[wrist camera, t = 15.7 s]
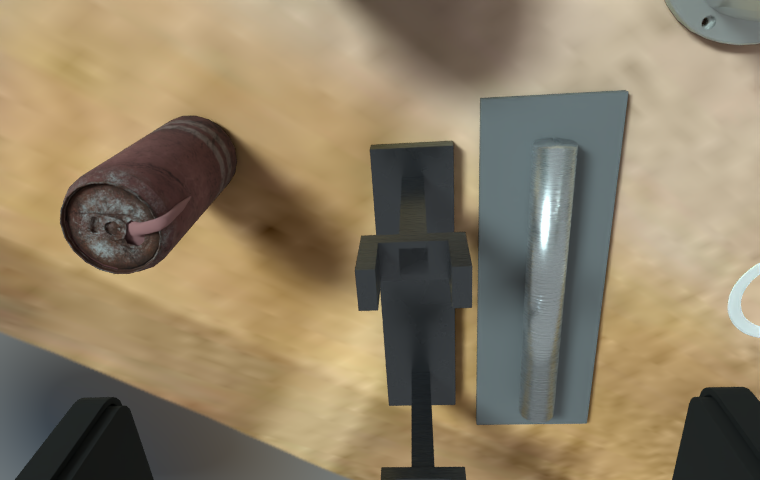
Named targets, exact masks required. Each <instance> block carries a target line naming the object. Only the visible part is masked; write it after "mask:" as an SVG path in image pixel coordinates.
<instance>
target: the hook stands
mask: <svg viewBox="0 0 760 480" xmlns="http://www.w3.org/2000/svg"><path fill="white" fill-rule="evenodd" d="M370 157H371V170H372V184H373V197H374V211H375V224H376V235H368V236H361V240H360V245H359V251H358V256H357V261H356V267H355V277H356V287H357V298H358V308H359V311H370V310H378V305H379V295H380V291H381V305H382V318H383V332H384V345H385V359H386V372H387V385H388V399H389V406H401V405H412V467H382V468H381V480H466V473H465V467H434V449H433V427H432V406H431V405H455V308H472V262H471V258H470V253H469V248H468V243H467V238H466V234H465V232H454V156H453V142H452V141H439V142H419V143H399V144H378V145H371V147H370Z"/></svg>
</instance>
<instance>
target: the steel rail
mask: <svg viewBox="0 0 760 480" xmlns="http://www.w3.org/2000/svg"><path fill="white" fill-rule="evenodd" d="M577 151H578V143H577V142H575V141H573V140H570V139H564V138H545V139H540V140H537V141H534V142H533V148H532V167H531V185H530V203H529V222H528V240H527V258H526V277H525V295H524V313H523V332H522V350H521V369H520V387H519V405H518V410H519V413H520V415H521V416H522V417H523V418H525V419H526V420H528V421H531V422H535V423H543V422H547V421H549V420H550V419H551V418H552V417H553V415H554V405H555V394H556V383H557V372H558V361H559V350H560V339H561V328H562V317H563V306H564V295H565V284H566V273H567V262H568V251H569V240H570V228H571V217H572V206H573V195H574V184H575V173H576V162H577Z"/></svg>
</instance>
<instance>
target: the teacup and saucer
mask: <svg viewBox="0 0 760 480" xmlns="http://www.w3.org/2000/svg"><path fill="white" fill-rule="evenodd" d="M758 275H760V263H758V264H757V265H755V266H753V267H752V268H751V269H749V270H748V271H747V272H746V273H745V274H743V275H742V276H741V278H740V279H739V280H738V281H737V282H736V284H735V285H734V287H733V289H732V291H731V293H730V296H729V299H728V314H729V317H730V319H731V321H732V323H733V324H734V325H735V327H736V328H738V329H739V330H740V331H742V332H743V333H745V334H747V335H750V336H753V337H758V338H760V326H757V325H755V324H753V323H751V322H749V321H748V320H747V319H746V318H745V316H744V315H743V313H742V310H741V298H742V295H743V293H744V291H745V289H746V287H747V286H748V285H749V284H750V282H751V281H752V280H753V279H755V278H756V277H757V276H758Z"/></svg>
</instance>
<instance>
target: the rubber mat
mask: <svg viewBox="0 0 760 480" xmlns="http://www.w3.org/2000/svg"><path fill="white" fill-rule="evenodd" d="M627 100H628V91H626V90H621V91H602V92H584V93H566V94H547V95H529V96H511V97H492V98H480V162H479V238H478V315H477V392H476V423H477V425H499V424H583V423H587V417H588V409H589V402H590V394H591V386H592V378H593V370H594V362H595V354H596V346H597V338H598V330H599V322H600V314H601V306H602V298H603V290H604V282H605V274H606V267H607V259H608V251H609V243H610V235H611V227H612V219H613V211H614V203H615V195H616V187H617V179H618V171H619V163H620V155H621V147H622V139H623V131H624V124H625V116H626V108H627ZM545 138H564V139H570V140H573V141H575V142H577V143H578V151H577V162H576V173H575V184H574V195H573V206H572V217H571V228H570V240H569V251H568V262H567V273H566V284H565V295H564V306H563V317H562V328H561V339H560V350H559V361H558V372H557V383H556V394H555V405H554V415H553V417H552V418H551V419H550V420H549V421H547V422H543V423H535V422H531V421H528V420H526V419H525V418H523V417H522V416H521V415H520V413H519V410H518V405H519V387H520V369H521V350H522V332H523V313H524V295H525V277H526V258H527V240H528V222H529V203H530V185H531V167H532V148H533V142H534V141H537V140H540V139H545Z"/></svg>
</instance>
